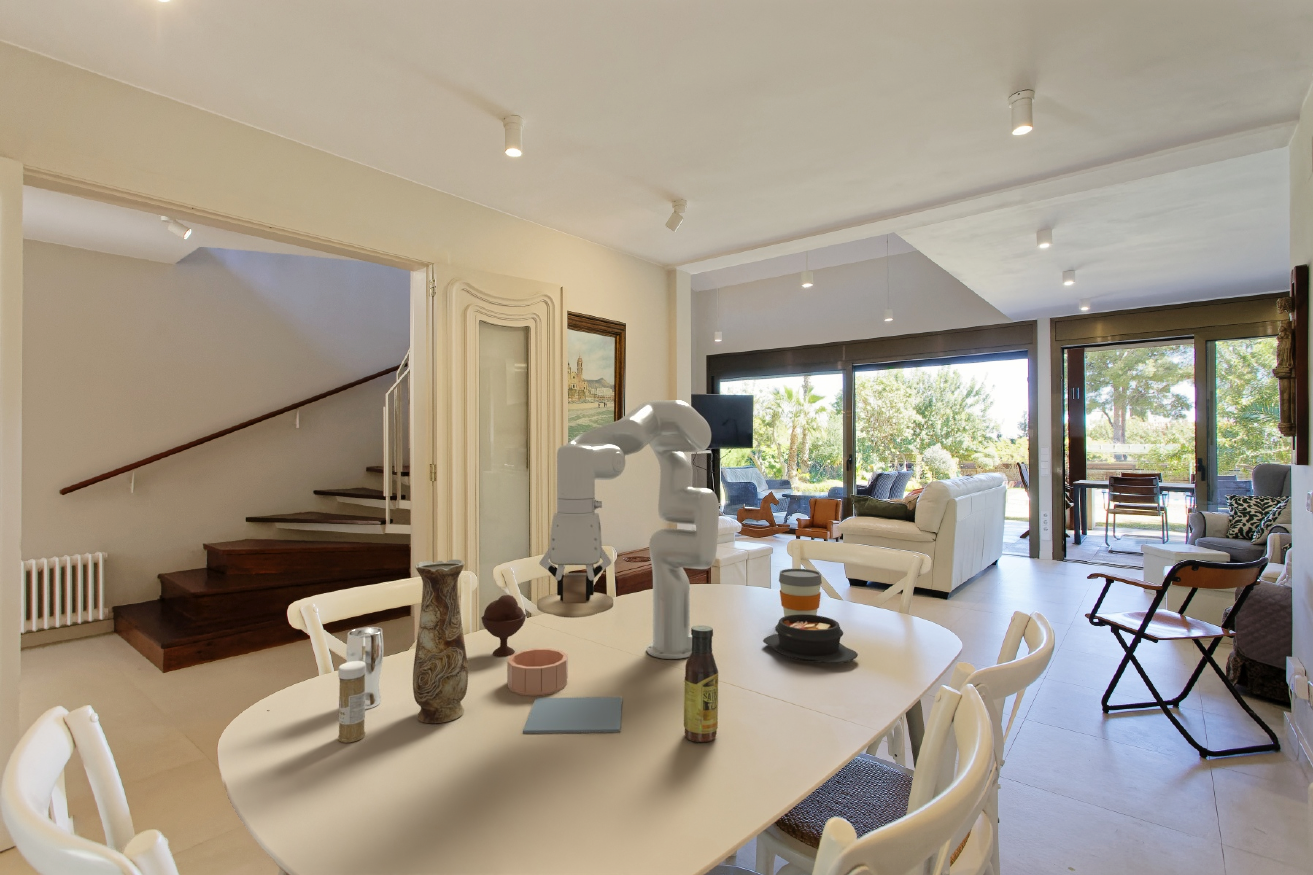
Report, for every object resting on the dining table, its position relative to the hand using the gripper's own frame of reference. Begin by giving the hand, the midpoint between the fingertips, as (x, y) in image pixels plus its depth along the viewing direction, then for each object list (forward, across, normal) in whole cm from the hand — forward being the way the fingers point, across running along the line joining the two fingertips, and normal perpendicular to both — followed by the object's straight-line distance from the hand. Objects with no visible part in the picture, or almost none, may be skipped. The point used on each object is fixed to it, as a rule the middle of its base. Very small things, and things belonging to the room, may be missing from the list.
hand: (575, 597), depth 126 cm
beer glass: (+23, +44, -6) cm, 50 cm away
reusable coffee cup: (+23, -61, -63) cm, 90 cm away
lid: (+1, 0, 0) cm, 1 cm away
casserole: (+24, -56, -35) cm, 70 cm away
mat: (+23, 0, 0) cm, 23 cm away
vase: (+23, +27, -1) cm, 36 cm away
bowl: (+23, +10, -16) cm, 30 cm away
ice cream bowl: (+23, +22, -37) cm, 49 cm away
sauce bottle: (+23, -24, +10) cm, 35 cm away
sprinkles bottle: (+23, +40, +9) cm, 47 cm away
